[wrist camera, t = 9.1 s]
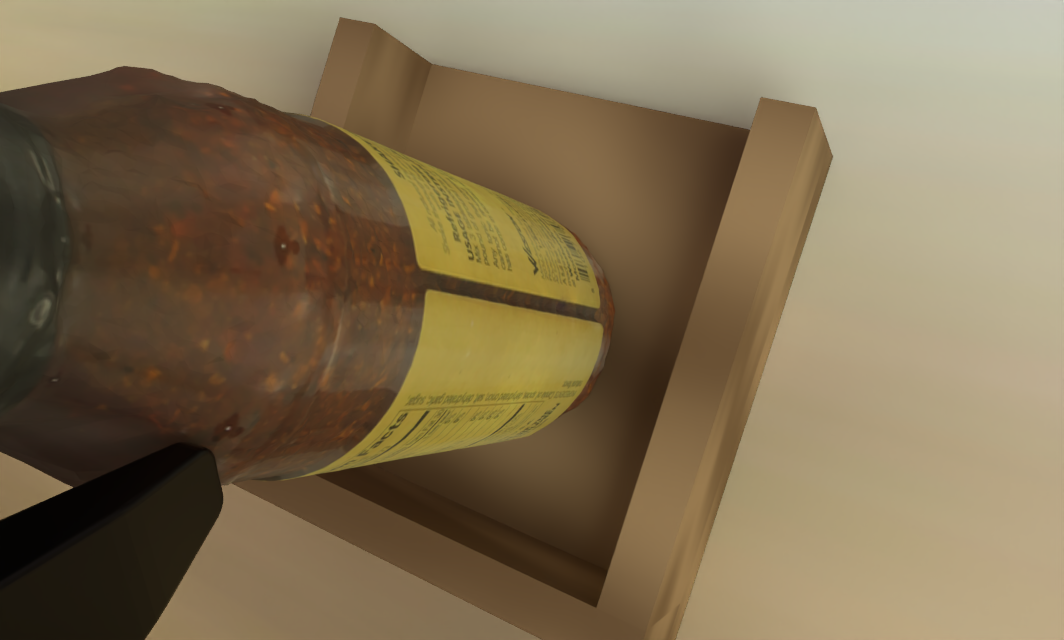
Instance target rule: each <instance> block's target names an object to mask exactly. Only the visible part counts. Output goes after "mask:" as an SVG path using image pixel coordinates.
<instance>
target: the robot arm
mask: <svg viewBox="0 0 1064 640" xmlns="http://www.w3.org/2000/svg"><path fill="white" fill-rule="evenodd" d="M222 504H223V492H222V488H221V483H220V478H219V473H218V469H217V464H216V459H215V456H214V454H213V452H212V451H211V450H210V449H208V448H205V447H202V446H198V445H195V444H191V443H188V442H178V443H175V444H172V445H170V446H167V447H165V448H163V449H161V450H158V451H156V452H154V453H151V454H149V455H147V456H145V457H142V458H140V459H138V460H136V461H133V462H131V463H129V464H127V465H124V466H122V467H120V468H117V469H115V470H113V471H111V472H108V473H106V474H104V475H102V476H99V477H97V478H95V479H93V480H90V481H88V482H86V483H83V484H81V485H79V486H77V487H74V488H72V489H70V490H68V491H65V492H63V493H61V494H59V495H56V496H54V497H52V498H50V499H47V500H45V501H43V502H40V503H38V504H36V505H34V506H31V507H29V508H27V509H25V510H22V511H20V512H18V513H16V514H13V515H11V516H9V517H6V518H4V519H2V520H0V640H145V638H146V637H147V635H148V634H149V632H150V631H151V629H152V628H153V627H154V625H155V624H156V622H157V621H158V619H159V617H160V616H161V614H162V613H163V611H164V609H165V608H166V606H167V605H168V603H169V601H170V599H171V598H172V596H173V594H174V593H175V591H176V589H177V587H178V586H179V584H180V582H181V580H182V579H183V577H184V575H185V573H186V572H187V570H188V568H189V567H190V565H191V563H192V561H193V560H194V558H195V556H196V554H197V553H198V551H199V549H200V548H201V546H202V544H203V542H204V541H205V539H206V537H207V535H208V534H209V532H210V530H211V529H212V527H213V525H214V523H215V522H216V520H217V518H218V516H219V514H220V511H221V509H222Z"/></svg>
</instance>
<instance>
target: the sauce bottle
mask: <svg viewBox="0 0 1064 640" xmlns="http://www.w3.org/2000/svg"><path fill="white" fill-rule="evenodd" d="M614 315H615V308H614V304H613V300H612V294H611V290H610V286H609V283H608V281H607V279H606V277H605V275H604V272H603V269H602V268H601V267H600V266H599V264H598V263H597V262H596V261H595V259H594V257H593V256H592V255H591V253H590V252H589V250H588V248H587V247H586V246H585V245H584V244H583V243H582V242H581V240H580V238H579V237H578V236H577V235H576V234H575V233H573V232H572V231H570V230H569V229H568V228H567V227H565V226H563V225H561V224H560V223H558V222H557V221H555V220H554V219H552V218H551V217H550V216H548V215H546V214H545V213H543V212H541V211H539V210H537V209H535V208H533V207H531V206H528V205H526V204H524V203H521V202H519V201H517V200H514V199H512V198H510V197H507V196H505V195H503V194H500V193H498V192H495V191H493V190H490V189H488V188H485V187H483V186H480V185H478V184H475V183H473V182H470V181H468V180H465V179H463V178H460V177H458V176H455V175H453V174H450V173H448V172H445V171H443V170H441V169H438V168H436V167H433V166H431V165H429V164H426V163H424V162H421V161H419V160H416V159H414V158H412V157H409V156H407V155H404V154H402V153H400V152H397V151H395V150H393V149H391V148H388V147H386V146H384V145H381V144H379V143H376V142H374V141H372V140H369V139H367V138H364V137H362V136H359V135H357V134H355V133H352V132H350V131H347V130H345V129H343V128H340V127H338V126H335V125H333V124H330V123H328V122H325V121H323V120H320V119H318V118H314V117H310V116H306V115H302V114H294V113H286V112H281V111H279V110H276V109H275V108H273V107H270V106H267V105H265V104H262V103H260V102H258V101H257V100H256V99H252V98H246V97H243V96H241V95H239V94H237V93H234V92H231V91H228V90H226V89H224V88H222V87H219V86H216V85H212V84H209V83H196V82H190V81H185V80H181V79H178V78H176V77H174V76H170V75H165V74H162V73H160V72H157V71H155V70H153V69H145V68H137V67H128V66H123V67H117V68H114V69H112V70H110V71H106V72H103V73H99V74H95V75H91V76H87V77H81V78H76V79H70V80H64V81H59V82H53V83H47V84H42V85H37V86H32V87H26V88H21V89H16V90H11V91H5V92H0V452H2V453H5V454H7V455H9V456H11V457H13V458H15V459H18V460H20V461H22V462H24V463H26V464H28V465H30V466H32V467H34V468H36V469H38V470H40V471H42V472H44V473H46V474H48V475H50V476H52V477H53V478H55V479H57V480H59V481H61V482H63V483H65V484H68V485H70V486H72V487H73V488H74V487H77V486H79V485H81V484H83V483H86V482H88V481H90V480H93V479H95V478H97V477H99V476H102V475H104V474H106V473H108V472H111V471H113V470H115V469H117V468H120V467H122V466H124V465H127V464H129V463H131V462H133V461H136V460H138V459H140V458H142V457H145V456H147V455H149V454H151V453H154V452H156V451H158V450H161V449H163V448H165V447H167V446H170V445H172V444H175V443H178V442H188V443H191V444H195V445H198V446H202V447H205V448H208V449H210V450H211V451H212V452H213V454H214V456H215V459H216V464H217V469H218V473H219V478H220V483H221V485H229V484H230V483H232V482H243V481H247V480H257V481H278V480H288V479H293V478H299V477H304V476H310V475H315V474H321V473H327V472H334V471H340V470H344V469H349V468H354V467H360V466H366V465H371V464H376V463H382V462H387V461H392V460H397V459H402V458H408V457H415V456H421V455H427V454H433V453H439V452H446V451H451V450H456V449H462V448H469V447H475V446H481V445H487V444H493V443H499V442H504V441H509V440H514V439H518V438H522V437H527V436H530V435H532V434H534V433H535V432H537V431H539V430H540V429H542V428H544V427H545V426H547V425H548V424H550V423H551V422H553V421H555V420H556V419H557V418H559V417H560V416H562V415H563V414H564V413H567V412H568V411H570V410H572V409H575V408H576V407H577V406H579V405H580V404H581V403H582V402H583V401H584V400H585V399H586V398H587V397H588V396H589V394H590V393H591V391H592V389H593V387H594V385H595V383H596V381H597V379H598V377H599V376H600V374H601V372H602V370H603V369H604V364H605V358H606V356H607V353H608V350H609V347H610V343H611V333H612V329H613V326H614Z"/></svg>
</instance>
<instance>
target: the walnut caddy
mask: <svg viewBox="0 0 1064 640" xmlns="http://www.w3.org/2000/svg"><path fill="white" fill-rule="evenodd" d="M310 117H314V118H318V119H320V120H323V121H325V122H328V123H330V124H333V125H335V126H338V127H340V128H343V129H345V130H347V131H350V132H352V133H355V134H357V135H359V136H362V137H364V138H367V139H369V140H372V141H374V142H376V143H379V144H381V145H384V146H386V147H388V148H391V149H393V150H395V151H397V152H400V153H402V154H404V155H407V156H409V157H412V158H414V159H416V160H419V161H421V162H424V163H426V164H429V165H431V166H433V167H436V168H438V169H441V170H443V171H445V172H448V173H450V174H453V175H455V176H458V177H460V178H463V179H465V180H468V181H470V182H473V183H475V184H478V185H480V186H483V187H485V188H488V189H490V190H493V191H495V192H498V193H500V194H503V195H505V196H507V197H510V198H512V199H514V200H517V201H519V202H521V203H524V204H526V205H528V206H531V207H533V208H535V209H537V210H539V211H541V212H543V213H545V214H546V215H548V216H550V217H551V218H552V219H554V220H555V221H557V222H558V223H560V224H561V225H563V226H565V227H567V228H568V229H569V230H570V231H572V232H573V233H575V234H576V235H577V236H578V237H579V238H580V240H581V242H582V243H583V244H584V245H585V246H586V247H587V248H588V250H589V252H590V253H591V255H592V256H593V257H594V259H595V261H596V262H597V263H598V264H599V266H600V267H601V268H602V269H603V272H604V275H605V277H606V279H607V281H608V283H609V286H610V290H611V294H612V300H613V304H614V308H615V315H614V326H613V329H612V333H611V343H610V347H609V350H608V353H607V356H606V358H605V364H604V369H603V370H602V372H601V374H600V376H599V377H598V379H597V381H596V383H595V385H594V387H593V389H592V391H591V393H590V394H589V396H588V397H587V398H586V399H585V400H584V401H583V402H582V403H581V404H580V405H579V406H577V407H576V408H575V409H572V410H570V411H568V412H567V413H564V414H563V415H562V416H560V417H559V418H557V419H556V420H555V421H553V422H551V423H550V424H548V425H547V426H545V427H544V428H542V429H540V430H539V431H537V432H535V433H534V434H532V435H530V436H527V437H522V438H518V439H514V440H509V441H504V442H499V443H493V444H487V445H481V446H475V447H469V448H462V449H456V450H451V451H446V452H439V453H433V454H427V455H421V456H415V457H408V458H402V459H397V460H392V461H387V462H382V463H376V464H371V465H366V466H360V467H354V468H349V469H344V470H340V471H334V472H327V473H321V474H315V475H310V476H304V477H299V478H293V479H288V480H278V481H257V480H247V481H243V482H232V484H234V485H236V486H238V487H240V488H242V489H244V490H246V491H248V492H250V493H252V494H254V495H256V496H258V497H260V498H262V499H264V500H266V501H268V502H270V503H272V504H274V505H276V506H278V507H280V508H282V509H284V510H286V511H288V512H290V513H292V514H294V515H296V516H298V517H300V518H302V519H304V520H306V521H308V522H310V523H312V524H313V525H315V526H317V527H319V528H321V529H323V530H325V531H327V532H329V533H331V534H333V535H335V536H337V537H339V538H341V539H343V540H345V541H347V542H349V543H351V544H353V545H355V546H357V547H359V548H361V549H363V550H365V551H367V552H369V553H371V554H373V555H375V556H377V557H379V558H381V559H383V560H385V561H387V562H389V563H391V564H393V565H395V566H397V567H399V568H401V569H403V570H405V571H407V572H409V573H411V574H413V575H415V576H417V577H419V578H421V579H423V580H425V581H427V582H429V583H431V584H433V585H435V586H437V587H439V588H441V589H443V590H445V591H447V592H449V593H450V594H452V595H454V596H456V597H458V598H460V599H462V600H464V601H466V602H468V603H470V604H472V605H474V606H476V607H478V608H480V609H482V610H484V611H486V612H488V613H490V614H492V615H494V616H496V617H498V618H500V619H502V620H504V621H506V622H508V623H510V624H512V625H514V626H516V627H518V628H520V629H522V630H524V631H526V632H528V633H530V634H532V635H534V636H536V637H538V638H540V639H542V640H675V639H676V636H677V633H678V630H679V627H680V624H681V621H682V618H683V615H684V612H685V609H686V606H687V603H688V600H689V597H690V593H691V590H692V587H693V584H694V581H695V578H696V575H697V572H698V569H699V566H700V563H701V560H702V557H703V554H704V551H705V547H706V544H707V541H708V538H709V535H710V532H711V529H712V526H713V523H714V520H715V517H716V514H717V511H718V508H719V505H720V501H721V498H722V495H723V492H724V489H725V486H726V483H727V480H728V477H729V474H730V471H731V468H732V465H733V462H734V459H735V456H736V452H737V449H738V446H739V443H740V440H741V437H742V434H743V431H744V428H745V425H746V422H747V419H748V416H749V413H750V410H751V406H752V403H753V400H754V397H755V394H756V391H757V388H758V385H759V382H760V379H761V376H762V373H763V370H764V367H765V364H766V360H767V357H768V354H769V351H770V348H771V345H772V342H773V339H774V336H775V333H776V330H777V327H778V324H779V321H780V318H781V314H782V311H783V308H784V305H785V302H786V299H787V296H788V293H789V290H790V287H791V284H792V281H793V278H794V275H795V272H796V268H797V265H798V262H799V259H800V256H801V253H802V250H803V247H804V244H805V241H806V238H807V235H808V232H809V229H810V226H811V223H812V219H813V216H814V213H815V210H816V207H817V204H818V201H819V198H820V195H821V192H822V189H823V186H824V183H825V180H826V177H827V173H828V170H829V167H830V164H831V161H832V158H833V156H832V153H831V150H830V147H829V144H828V141H827V138H826V135H825V132H824V130H823V127H822V124H821V121H820V118H819V115H818V112H817V109H816V108H815V107H810V106H805V105H799V104H794V103H789V102H784V101H778V100H773V99H768V98H762V97H761V98H760V102H759V105H758V108H757V111H756V114H755V117H754V120H753V123H752V126H751V130H748V129H744V128H739V127H734V126H729V125H724V124H719V123H714V122H710V121H705V120H700V119H695V118H690V117H685V116H681V115H676V114H671V113H666V112H661V111H656V110H651V109H647V108H642V107H637V106H632V105H627V104H622V103H618V102H613V101H608V100H603V99H598V98H593V97H589V96H584V95H579V94H574V93H569V92H564V91H559V90H555V89H550V88H545V87H540V86H535V85H530V84H526V83H521V82H516V81H511V80H506V79H501V78H496V77H492V76H487V75H482V74H477V73H472V72H467V71H463V70H458V69H453V68H448V67H443V66H438V65H434V64H431V63H429V62H428V61H427V60H425V59H424V58H422V57H421V56H420V55H418V54H417V53H415V52H414V51H412V50H411V49H410V48H408V47H407V46H405V45H404V44H403V43H401V42H400V41H398V40H397V39H395V38H394V37H393V36H391V35H390V34H388V33H387V32H386V31H384V30H383V29H381V28H380V27H378V26H377V25H376V24H372V23H367V22H362V21H356V20H351V19H346V18H341V17H340V19H339V23H338V26H337V29H336V32H335V36H334V39H333V42H332V46H331V49H330V52H329V56H328V59H327V62H326V65H325V69H324V72H323V75H322V79H321V82H320V85H319V89H318V92H317V95H316V98H315V102H314V105H313V108H312V112H311V115H310Z"/></svg>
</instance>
